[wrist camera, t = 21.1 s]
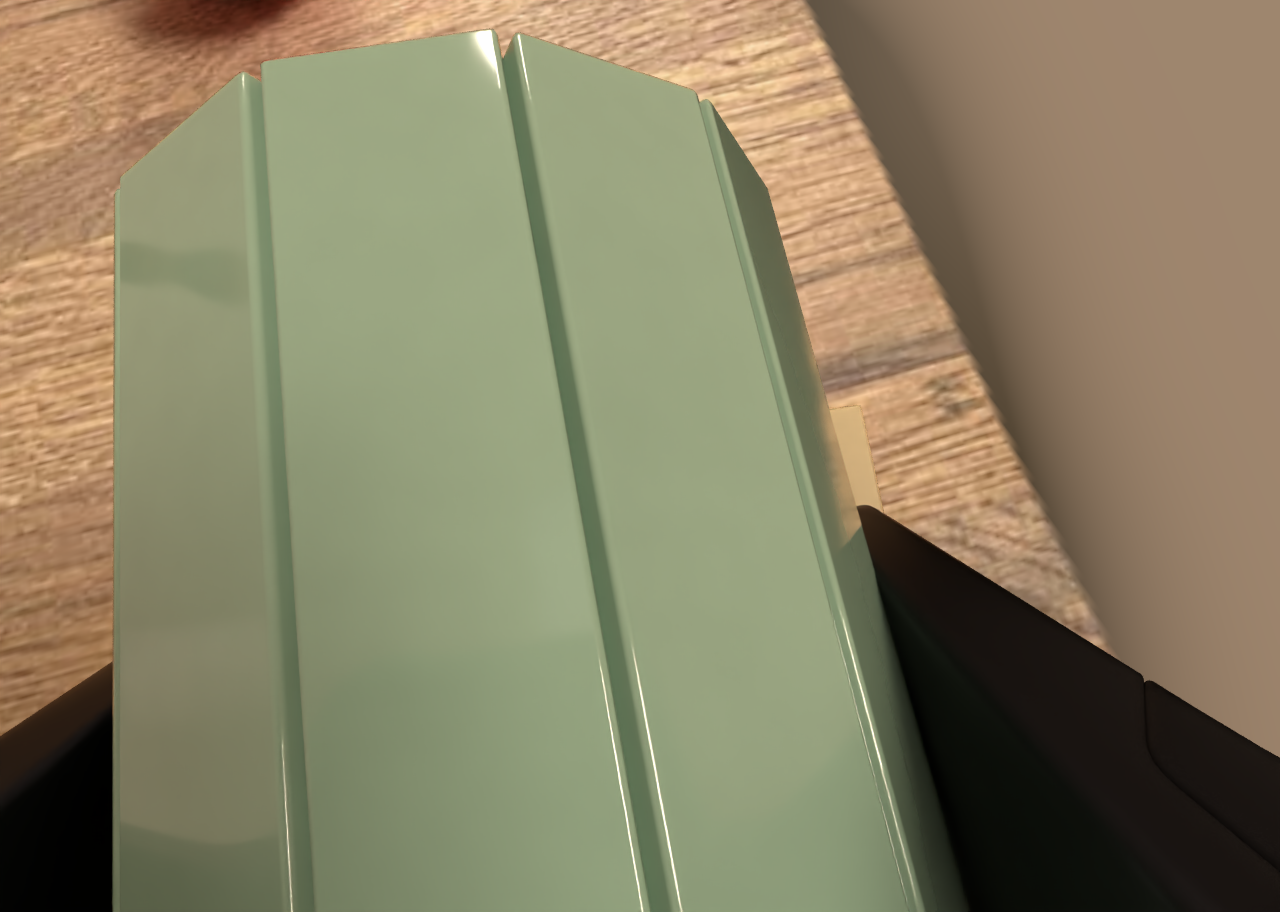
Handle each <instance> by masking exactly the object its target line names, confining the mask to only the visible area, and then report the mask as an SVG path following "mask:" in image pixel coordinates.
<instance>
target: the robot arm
mask: <svg viewBox="0 0 1280 912" xmlns="http://www.w3.org/2000/svg"><path fill="white" fill-rule="evenodd" d="M856 507H857V510H858V514H859V517H860V521H861V525H862V528H863V532H864V535H865V539H866V542H867V546H868V549H869V553H870V557H871V560H872V564H873V567H874V571H875V575H876V580H877V583H878V587H879V590H880V594H881V597H882V601H883V604H884V608H885V611H886V615H887V618H888V621H889V625H890V628H891V632H892V635H893V639H894V642H895V646H896V649H897V653H898V657H899V660H900V664H901V667H902V671H903V674H904V678H905V682H906V685H907V689H908V692H909V696H910V699H911V703H912V707H913V710H914V714H915V717H916V721H917V724H918V728H919V732H920V735H921V739H922V742H923V746H924V749H925V753H926V757H927V760H928V764H929V767H930V771H931V774H932V778H933V781H934V785H935V789H936V792H937V796H938V799H939V803H940V806H941V810H942V814H943V817H944V821H945V824H946V828H947V831H948V835H949V839H950V842H951V846H952V849H953V853H954V856H955V860H956V864H957V867H958V871H959V874H960V878H961V881H962V885H963V889H964V892H965V896H966V899H967V903H968V906H969V910H970V912H1280V758H1279V757H1278V756H1276V755H1274V754H1272V753H1271V752H1269V751H1267V750H1265V749H1263V748H1261V747H1260V746H1258V745H1257V744H1255V743H1253V742H1252V741H1250V740H1248V739H1247V738H1245V737H1243V736H1242V735H1240V734H1238V733H1237V732H1235V731H1233V730H1231V729H1230V728H1228V727H1227V726H1225V725H1223V724H1222V723H1220V722H1218V721H1217V720H1215V719H1213V718H1212V717H1210V716H1208V715H1207V714H1205V713H1203V712H1202V711H1200V710H1198V709H1197V708H1195V707H1193V706H1192V705H1190V704H1189V703H1187V702H1185V701H1184V700H1182V699H1181V698H1179V697H1177V696H1176V695H1174V694H1173V693H1171V692H1169V691H1168V690H1166V689H1164V688H1163V687H1161V686H1160V685H1158V684H1157V683H1155V682H1153V681H1146V682H1144V679H1143V676H1142V675H1141V674H1140V673H1138V672H1136V671H1135V670H1134V669H1132V668H1130V667H1129V666H1127V665H1125V664H1124V663H1122V662H1121V661H1119V660H1118V659H1116V658H1114V657H1113V656H1111V655H1110V654H1108V653H1106V652H1105V651H1103V650H1102V649H1100V648H1098V647H1097V646H1095V645H1094V644H1092V643H1090V642H1089V641H1087V640H1086V639H1084V638H1082V637H1081V636H1079V635H1078V634H1076V633H1074V632H1073V631H1071V630H1070V629H1068V628H1066V627H1065V626H1063V625H1062V624H1060V623H1058V622H1057V621H1055V620H1054V619H1052V618H1050V617H1049V616H1047V615H1046V614H1044V613H1042V612H1041V611H1039V610H1038V609H1036V608H1034V607H1033V606H1031V605H1030V604H1028V603H1026V602H1025V601H1023V600H1022V599H1020V598H1018V597H1017V596H1015V595H1014V594H1012V593H1010V592H1009V591H1007V590H1006V589H1004V588H1002V587H1001V586H999V585H998V584H996V583H994V582H993V581H991V580H990V579H988V578H986V577H985V576H983V575H982V574H980V573H978V572H977V571H975V570H974V569H972V568H970V567H969V566H967V565H966V564H964V563H962V562H961V561H959V560H958V559H956V558H954V557H953V556H951V555H950V554H948V553H946V552H945V551H943V550H942V549H940V548H938V547H937V546H935V545H934V544H932V543H930V542H929V541H927V540H926V539H924V538H922V537H921V536H919V535H918V534H916V533H914V532H913V531H911V530H910V529H908V528H906V527H905V526H903V525H902V524H900V523H898V522H897V521H895V520H894V519H892V518H890V517H889V516H887V515H886V514H884V513H882V512H881V511H879V510H878V509H876V508H874V507H872V506H870V505H859V506H856ZM112 732H113V662H111V663H110V664H108V665H107V666H105V667H104V668H102V669H101V670H99V671H98V672H96V673H95V674H93V675H92V676H90V677H89V678H87V679H86V680H84V681H83V682H81V683H80V684H78V685H77V686H75V687H74V688H72V689H71V690H69V691H68V692H66V693H65V694H63V695H62V696H60V697H59V698H57V699H56V700H54V701H53V702H51V703H50V704H48V705H47V706H45V707H44V708H42V709H41V710H39V711H38V712H36V713H35V714H33V715H32V716H30V717H29V718H27V719H26V720H24V721H23V722H21V723H20V724H18V725H17V726H15V727H14V728H12V729H11V730H9V731H8V732H6V733H5V734H3V735H2V736H0V912H112Z"/></svg>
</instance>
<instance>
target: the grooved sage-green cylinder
mask: <svg viewBox="0 0 1280 912" xmlns="http://www.w3.org/2000/svg"><path fill="white" fill-rule="evenodd" d="M260 67H261V81H260V80H259V79H257V78H256V77H254V76H253V75H251V74H249V73H247V72H244V71H243V72H239V73H238V74H237V75H236V76H234V77H233V78H232V79H231V80H230V81H229V82H228V83H226V84H225V85H224V86H223V87H222V88H221V89H220V90H218V91H217V92H216V93H215V94H214V95H213V96H212V97H210V98H209V99H208V100H207V101H206V102H205V103H204V104H202V105H201V106H200V107H199V108H198V109H197V110H196V111H194V112H193V113H192V114H191V115H190V116H189V117H188V118H187V119H185V120H184V121H183V122H182V123H181V124H180V125H179V126H177V127H176V128H175V129H174V130H173V131H172V132H171V133H169V134H168V135H167V136H166V137H165V138H164V139H163V140H161V141H160V142H159V143H158V144H157V145H156V146H155V147H153V148H152V149H151V150H150V151H149V152H148V153H147V154H145V155H144V156H143V157H142V158H141V159H140V160H139V161H137V162H136V163H135V164H134V165H133V166H132V167H131V168H130V169H128V170H127V171H126V172H125V173H124V174H123V175H122V176H121V177H120V189H117V191H116V192H115V194H114V378H113V732H112V912H970V910H969V906H968V903H967V899H966V896H965V892H964V889H963V885H962V881H961V878H960V874H959V871H958V867H957V864H956V860H955V856H954V853H953V849H952V846H951V842H950V839H949V835H948V831H947V828H946V824H945V821H944V817H943V814H942V810H941V806H940V803H939V799H938V796H937V792H936V789H935V785H934V781H933V778H932V774H931V771H930V767H929V764H928V760H927V757H926V753H925V749H924V746H923V742H922V739H921V735H920V732H919V728H918V724H917V721H916V717H915V714H914V710H913V707H912V703H911V699H910V696H909V692H908V689H907V685H906V682H905V678H904V674H903V671H902V667H901V664H900V660H899V657H898V653H897V649H896V646H895V642H894V639H893V635H892V632H891V628H890V625H889V621H888V618H887V615H886V611H885V608H884V604H883V601H882V597H881V594H880V590H879V587H878V583H877V580H876V575H875V571H874V567H873V564H872V560H871V557H870V553H869V549H868V546H867V542H866V539H865V535H864V532H863V528H862V525H861V521H860V517H859V514H858V510H857V507H856V503H855V500H854V496H853V492H852V489H851V485H850V482H849V478H848V475H847V471H846V467H845V464H844V460H843V457H842V453H841V450H840V446H839V442H838V439H837V435H836V432H835V428H834V425H833V421H832V417H831V414H830V410H829V407H828V403H827V400H826V396H825V392H824V389H823V385H822V382H821V378H820V375H819V371H818V367H817V364H816V360H815V357H814V353H813V350H812V346H811V342H810V339H809V335H808V332H807V328H806V325H805V321H804V317H803V314H802V310H801V307H800V303H799V300H798V296H797V293H796V289H795V285H794V282H793V278H792V275H791V271H790V268H789V264H788V260H787V257H786V253H785V250H784V246H783V243H782V239H781V235H780V232H779V228H778V225H777V221H776V218H775V214H774V210H773V207H772V203H771V200H770V196H769V193H768V189H767V187H766V186H765V184H764V183H763V181H762V180H761V178H760V177H759V175H758V174H757V172H756V170H755V169H754V167H753V166H752V164H751V163H750V161H749V160H748V158H747V157H746V155H745V154H744V152H743V151H742V149H741V148H740V146H739V145H738V143H737V141H736V140H735V138H734V137H733V135H732V134H731V132H730V131H729V129H728V128H727V126H726V125H725V123H724V122H723V120H722V119H721V117H720V115H719V114H718V112H717V111H716V109H715V108H714V106H713V105H712V103H711V102H710V101H709V100H707V99H705V100H702V101H700V102H699V100H698V96H697V94H696V92H695V91H694V90H693V89H690V88H687V87H684V86H681V85H678V84H675V83H672V82H669V81H666V80H663V79H660V78H657V77H654V76H651V75H648V74H645V73H642V72H639V71H636V70H633V69H630V68H627V67H624V66H621V65H618V64H615V63H612V62H609V61H606V60H603V59H599V58H596V57H593V56H590V55H587V54H584V53H581V52H578V51H575V50H572V49H569V48H566V47H563V46H560V45H557V44H554V43H551V42H548V41H545V40H542V39H539V38H536V37H533V36H530V35H527V34H524V33H521V32H520V33H515V34H514V35H513V37H512V39H511V42H510V44H509V46H508V49H507V51H506V53H505V56H504V58H503V56H502V52H501V47H500V43H499V38H498V35H497V33H496V32H495V31H494V29H483V30H476V31H469V32H462V33H455V34H448V35H441V36H434V37H427V38H420V39H413V40H405V41H398V42H391V43H384V44H377V45H370V46H363V47H356V48H349V49H342V50H334V51H327V52H320V53H313V54H306V55H299V56H292V57H285V58H278V59H271V60H265V61H263V62H262V63H261V65H260Z"/></svg>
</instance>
